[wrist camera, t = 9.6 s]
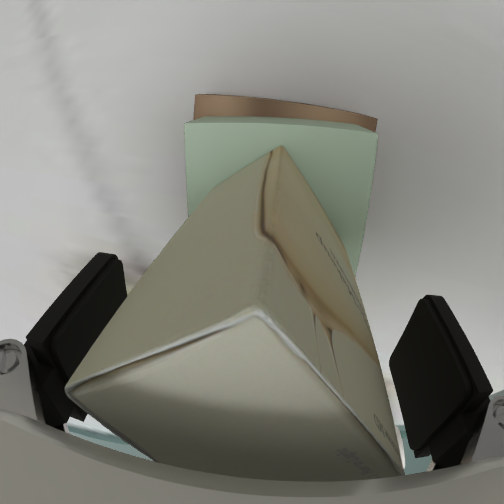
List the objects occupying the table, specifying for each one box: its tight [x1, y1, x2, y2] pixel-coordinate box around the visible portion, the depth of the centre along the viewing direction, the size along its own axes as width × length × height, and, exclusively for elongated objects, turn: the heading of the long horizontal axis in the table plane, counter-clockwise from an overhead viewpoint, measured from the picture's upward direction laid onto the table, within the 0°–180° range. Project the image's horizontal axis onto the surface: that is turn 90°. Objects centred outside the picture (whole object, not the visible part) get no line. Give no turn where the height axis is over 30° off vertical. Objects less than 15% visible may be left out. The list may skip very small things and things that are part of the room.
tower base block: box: [194, 94, 377, 132], centre depth 21 cm, size 11×11×4 cm
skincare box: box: [65, 146, 405, 482], centre depth 10 cm, size 6×4×12 cm
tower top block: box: [184, 116, 378, 277], centre depth 17 cm, size 9×9×4 cm
